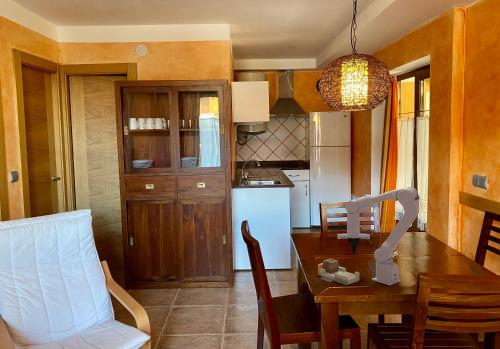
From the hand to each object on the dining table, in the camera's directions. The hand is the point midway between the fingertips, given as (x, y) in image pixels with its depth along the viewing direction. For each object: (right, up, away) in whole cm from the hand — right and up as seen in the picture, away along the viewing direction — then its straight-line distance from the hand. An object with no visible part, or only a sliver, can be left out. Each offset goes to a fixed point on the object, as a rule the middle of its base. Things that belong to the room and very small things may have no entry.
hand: (353, 253), depth 183 cm
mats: (-8, -11, -3) cm, 13 cm away
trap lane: (-8, -11, -3) cm, 13 cm away
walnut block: (-11, -8, 0) cm, 13 cm away
